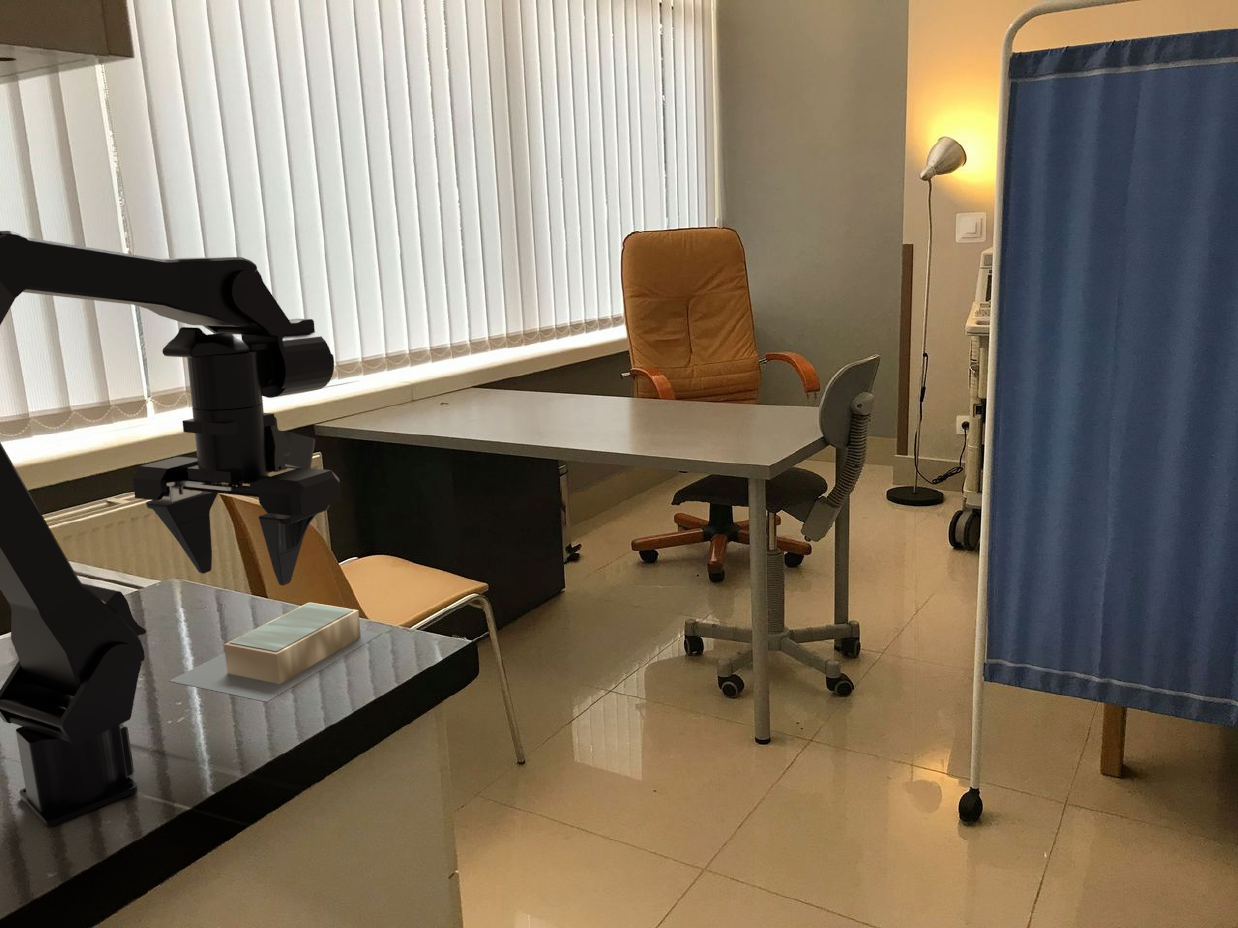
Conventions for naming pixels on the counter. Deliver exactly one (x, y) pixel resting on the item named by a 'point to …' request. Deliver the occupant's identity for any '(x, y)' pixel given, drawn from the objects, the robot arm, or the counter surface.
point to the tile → (292, 642)
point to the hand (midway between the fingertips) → (244, 578)
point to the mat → (219, 680)
